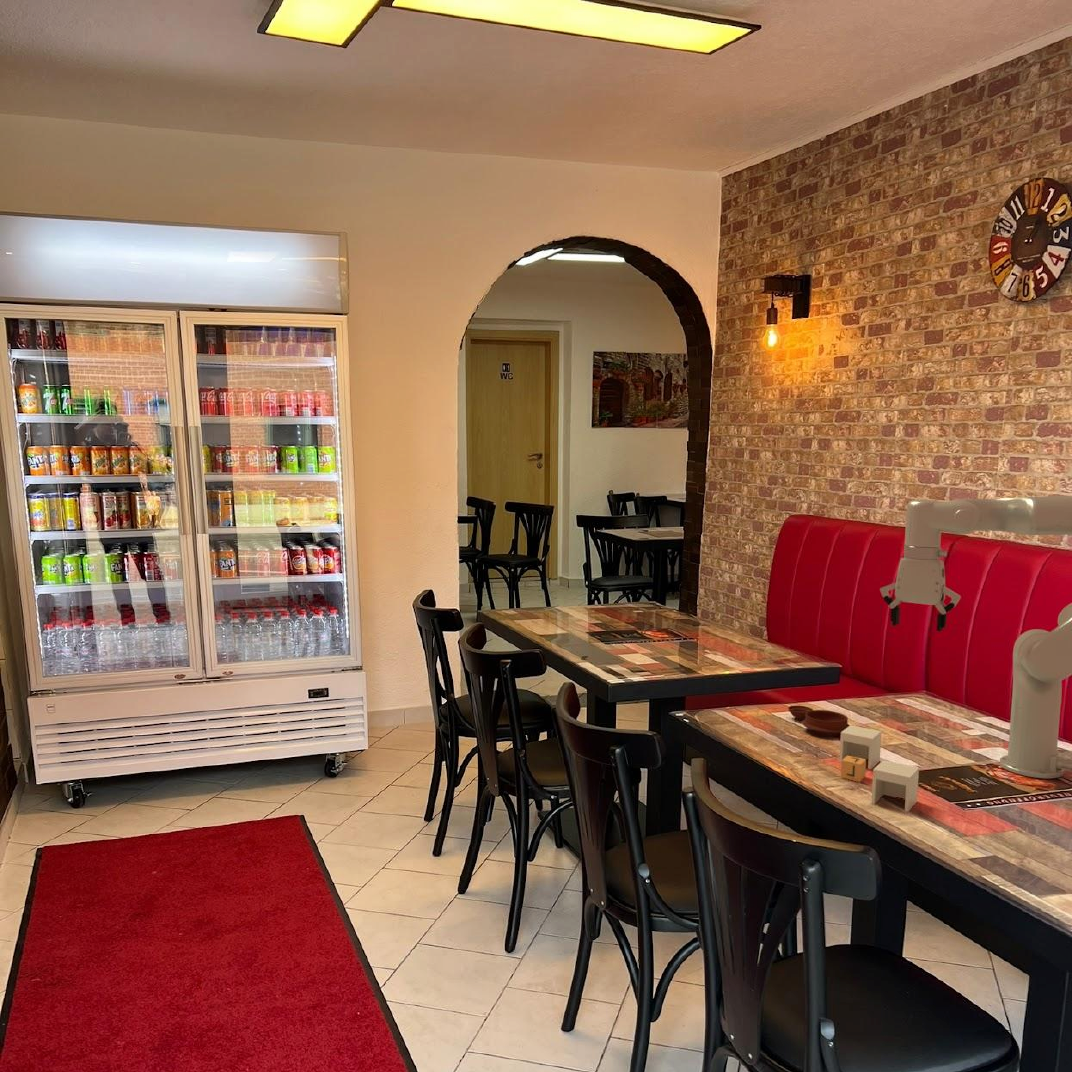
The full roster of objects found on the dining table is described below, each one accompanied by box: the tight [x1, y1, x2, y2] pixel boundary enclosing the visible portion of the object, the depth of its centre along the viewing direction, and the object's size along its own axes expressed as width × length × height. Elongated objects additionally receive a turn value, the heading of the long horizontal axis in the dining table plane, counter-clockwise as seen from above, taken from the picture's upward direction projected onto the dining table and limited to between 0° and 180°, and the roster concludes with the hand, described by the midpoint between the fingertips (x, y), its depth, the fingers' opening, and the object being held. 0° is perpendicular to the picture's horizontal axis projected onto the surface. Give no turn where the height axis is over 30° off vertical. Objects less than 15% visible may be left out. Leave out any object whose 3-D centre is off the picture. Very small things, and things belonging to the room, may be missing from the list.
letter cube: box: [840, 755, 867, 783], centre depth 194 cm, size 4×4×4 cm
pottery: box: [787, 705, 850, 737], centre depth 230 cm, size 12×20×4 cm, turn 18°
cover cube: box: [839, 724, 882, 770], centre depth 204 cm, size 7×7×7 cm
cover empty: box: [870, 759, 920, 813], centre depth 180 cm, size 7×7×7 cm
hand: (917, 627), depth 206 cm, fingers open, 9 cm apart
